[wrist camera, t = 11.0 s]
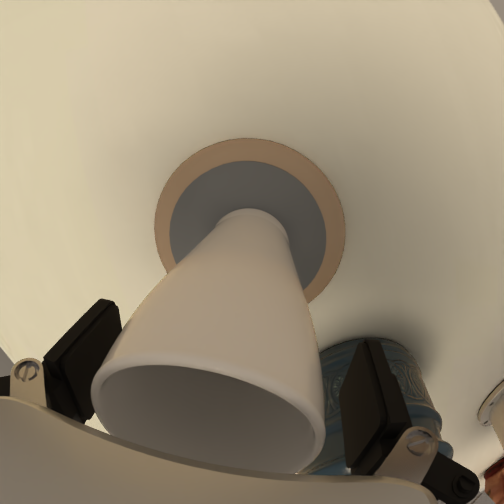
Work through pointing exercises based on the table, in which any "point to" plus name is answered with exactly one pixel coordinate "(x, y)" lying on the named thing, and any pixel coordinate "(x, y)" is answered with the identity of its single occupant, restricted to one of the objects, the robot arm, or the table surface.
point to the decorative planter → (495, 482)
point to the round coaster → (254, 204)
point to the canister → (333, 376)
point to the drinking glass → (221, 357)
